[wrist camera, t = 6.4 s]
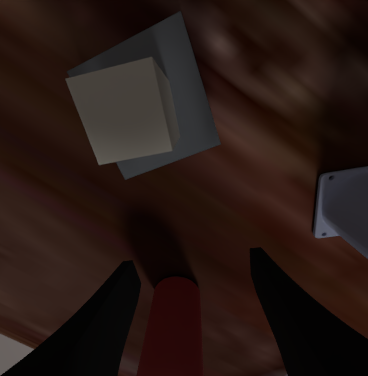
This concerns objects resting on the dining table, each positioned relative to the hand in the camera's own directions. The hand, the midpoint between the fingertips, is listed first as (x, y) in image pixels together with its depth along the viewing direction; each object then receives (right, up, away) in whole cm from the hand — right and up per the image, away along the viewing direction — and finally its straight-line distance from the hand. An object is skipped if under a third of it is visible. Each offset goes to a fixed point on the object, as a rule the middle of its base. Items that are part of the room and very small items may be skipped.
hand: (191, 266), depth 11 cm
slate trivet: (-3, +12, +6) cm, 14 cm away
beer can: (-1, -10, +15) cm, 18 cm away
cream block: (-3, +11, +3) cm, 11 cm away
